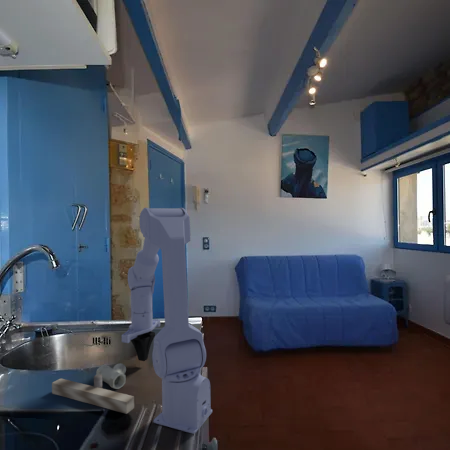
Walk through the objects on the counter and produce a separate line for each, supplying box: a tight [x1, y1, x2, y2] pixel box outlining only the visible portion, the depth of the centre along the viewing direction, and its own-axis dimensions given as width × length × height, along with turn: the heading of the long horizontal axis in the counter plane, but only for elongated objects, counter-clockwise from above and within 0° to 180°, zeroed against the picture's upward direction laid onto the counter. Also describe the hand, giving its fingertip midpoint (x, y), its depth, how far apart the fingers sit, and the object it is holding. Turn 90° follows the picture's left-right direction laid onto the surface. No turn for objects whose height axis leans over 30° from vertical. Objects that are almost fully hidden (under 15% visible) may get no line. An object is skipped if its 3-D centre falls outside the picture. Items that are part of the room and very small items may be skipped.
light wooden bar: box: [51, 374, 135, 415], centre depth 75 cm, size 22×4×4 cm, turn 67°
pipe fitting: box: [95, 362, 127, 390], centre depth 83 cm, size 8×4×7 cm
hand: (142, 359), depth 92 cm, fingers closed
